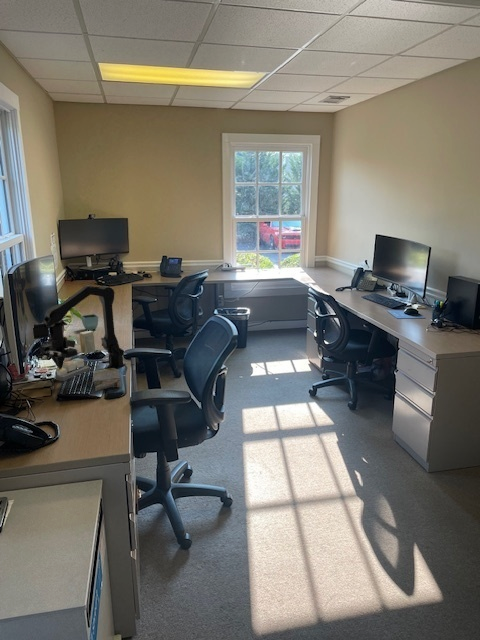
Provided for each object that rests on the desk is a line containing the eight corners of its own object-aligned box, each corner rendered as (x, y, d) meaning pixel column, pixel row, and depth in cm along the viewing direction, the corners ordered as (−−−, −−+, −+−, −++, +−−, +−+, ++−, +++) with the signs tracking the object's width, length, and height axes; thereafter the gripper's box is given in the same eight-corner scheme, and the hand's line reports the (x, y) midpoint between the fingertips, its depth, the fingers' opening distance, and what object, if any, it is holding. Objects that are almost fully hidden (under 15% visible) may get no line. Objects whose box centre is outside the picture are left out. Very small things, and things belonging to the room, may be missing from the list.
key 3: (67, 375, 212) (66, 368, 211) (60, 378, 209) (59, 370, 208) (61, 374, 214) (60, 366, 213) (54, 376, 211) (53, 369, 210)
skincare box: (91, 351, 251) (89, 330, 248) (96, 353, 248) (94, 331, 245) (80, 354, 246) (78, 332, 243) (85, 356, 243) (83, 333, 240)
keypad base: (90, 370, 220) (90, 366, 220) (63, 381, 207) (62, 377, 206) (76, 367, 225) (75, 363, 225) (48, 378, 211) (47, 373, 211)
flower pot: (99, 329, 298) (98, 316, 296) (85, 331, 293) (84, 318, 291) (95, 327, 305) (94, 313, 303) (82, 329, 300) (80, 315, 298)
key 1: (84, 366, 220) (83, 358, 219) (77, 368, 217) (76, 361, 216) (78, 364, 222) (77, 357, 221) (71, 367, 219) (70, 359, 218)
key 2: (75, 369, 216) (75, 361, 215) (69, 371, 213) (68, 364, 212) (69, 367, 218) (69, 360, 217) (63, 370, 215) (62, 362, 214)
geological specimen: (94, 381, 193) (92, 368, 207) (95, 394, 195) (93, 381, 208) (120, 377, 196) (116, 365, 210) (121, 390, 198) (118, 377, 212)
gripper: (85, 334, 209) (88, 366, 213) (57, 329, 218) (60, 360, 222) (65, 340, 200) (69, 374, 204) (37, 335, 209) (41, 367, 213)
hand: (60, 368), depth 211 cm, fingers closed, pressing on key 3
